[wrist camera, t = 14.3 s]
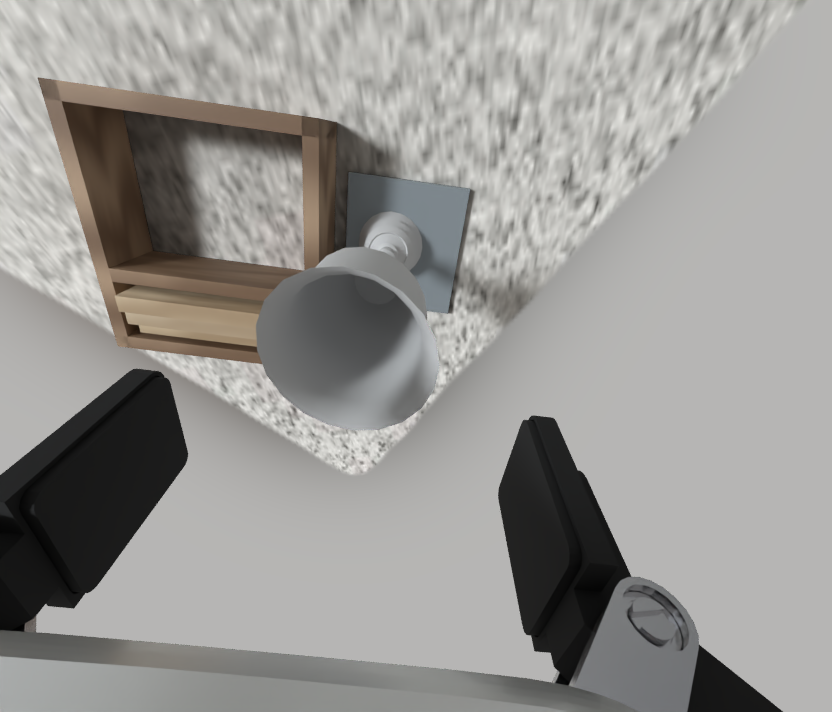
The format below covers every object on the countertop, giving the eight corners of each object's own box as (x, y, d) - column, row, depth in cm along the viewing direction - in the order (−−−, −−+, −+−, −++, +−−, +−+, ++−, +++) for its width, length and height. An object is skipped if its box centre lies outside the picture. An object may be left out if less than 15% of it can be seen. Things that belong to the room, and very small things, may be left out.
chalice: (328, 228, 30) (215, 327, 14) (400, 176, 28) (361, 224, 12) (382, 303, 33) (339, 453, 17) (451, 260, 31) (473, 386, 15)
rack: (103, 88, 26) (37, 77, 22) (336, 122, 26) (318, 118, 22) (157, 320, 34) (118, 346, 30) (332, 342, 35) (318, 370, 31)
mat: (349, 171, 28) (348, 172, 28) (469, 188, 28) (470, 189, 28) (345, 298, 33) (344, 300, 33) (447, 311, 33) (447, 313, 33)
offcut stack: (169, 268, 32) (114, 295, 27) (311, 287, 33) (286, 317, 27) (177, 308, 34) (127, 341, 28) (311, 325, 34) (288, 360, 29)
